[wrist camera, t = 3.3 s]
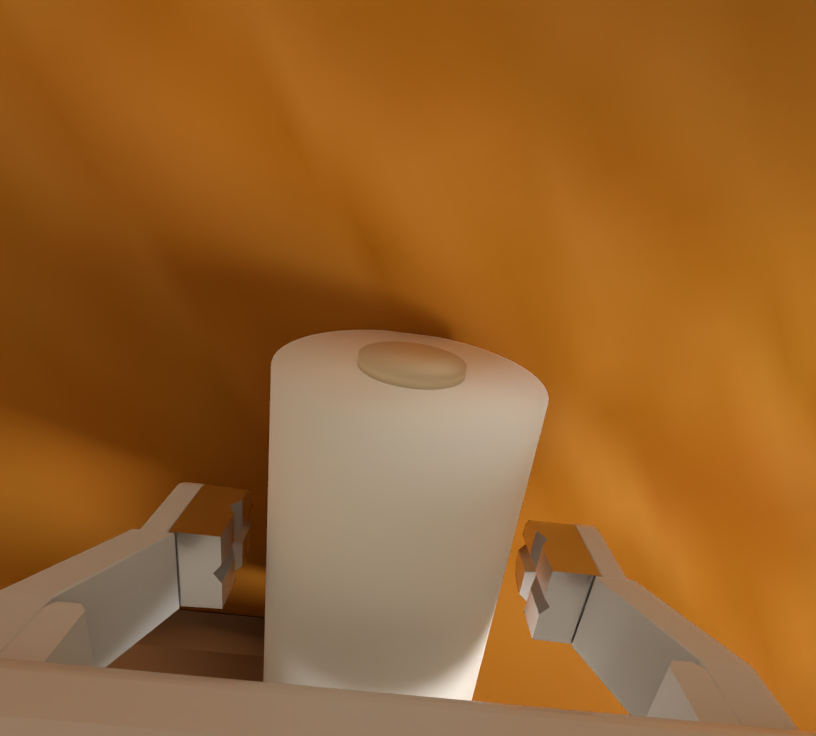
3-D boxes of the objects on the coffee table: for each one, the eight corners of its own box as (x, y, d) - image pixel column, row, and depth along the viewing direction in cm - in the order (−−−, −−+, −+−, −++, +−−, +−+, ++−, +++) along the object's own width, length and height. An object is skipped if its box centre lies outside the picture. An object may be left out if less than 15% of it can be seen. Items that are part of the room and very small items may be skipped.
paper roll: (309, 310, 10) (221, 394, 6) (517, 337, 11) (597, 440, 6) (294, 584, 13) (227, 789, 9) (459, 602, 13) (482, 815, 9)
